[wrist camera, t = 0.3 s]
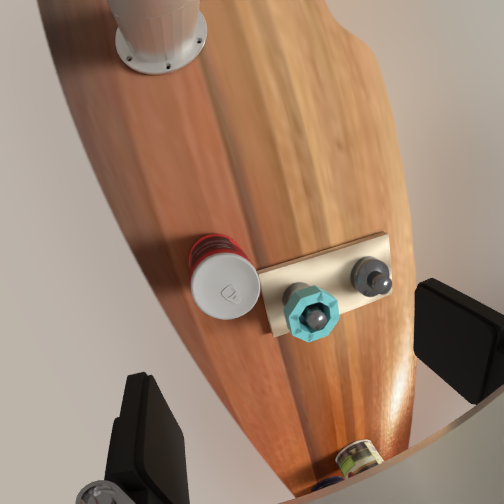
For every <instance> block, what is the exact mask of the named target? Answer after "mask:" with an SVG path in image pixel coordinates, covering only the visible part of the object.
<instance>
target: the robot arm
mask: <svg viewBox="0 0 504 504" xmlns="http://www.w3.org/2000/svg"><path fill="white" fill-rule="evenodd" d="M107 3H108V5H109V7H110V9H111V12H112V14H113V16H114V18H115V20H116V22H117V25H118V28H117V31H116V36H115V46H116V49H117V52H118V54H119V56H120V58H121V59H122V60H123V62H124V63H125V64H126V65H127V66H129V67H130V68H131V69H133V70H135V71H137V72H140V73H143V74H149V75H163V74H167V73H172V72H174V71H177V70H179V69H181V68H183V67H185V66H187V65H188V64H189V63H190V62H192V61H193V60H194V59H195V58H196V57H197V56H198V54H199V53H200V52H201V50H202V48H203V46H204V44H205V41H206V36H207V24H206V20H205V18H204V16H203V14H202V13H201V11H200V10H199V4H200V0H107ZM197 42H201V43H200V44H199V43H197ZM129 59H132V60H131V61H129ZM168 66H169V67H170V69H166V68H167V67H168ZM413 349H414V353H415V355H416V356H417V357H418V358H419V359H420V360H421V361H422V362H423V363H425V364H426V365H427V366H428V367H429V368H430V369H432V370H433V371H434V372H435V373H436V374H437V375H438V376H440V377H441V378H442V379H443V380H444V381H445V382H447V383H448V384H449V385H450V386H451V387H452V388H453V389H454V390H456V391H457V392H458V393H459V394H460V395H461V396H463V397H464V398H465V399H466V400H467V401H468V402H469V403H471V404H475V405H476V406H475V407H474V408H472V409H471V410H469V411H468V412H466V413H465V414H464V415H462V416H461V417H459V418H458V419H456V420H455V421H453V422H452V423H450V424H449V425H447V426H446V427H444V428H442V429H441V430H439V431H438V432H436V433H435V434H433V435H431V436H430V437H428V438H426V439H425V440H423V441H421V442H420V443H418V444H416V445H414V446H413V447H411V448H409V449H407V450H405V451H404V452H402V453H400V454H398V455H396V456H394V457H392V458H390V459H388V460H387V461H385V462H383V463H381V464H378V465H376V466H374V467H372V468H370V469H368V470H366V471H364V472H362V473H359V474H357V475H355V476H353V477H350V478H348V479H346V480H343V481H341V482H338V483H336V484H334V485H331V486H328V487H326V488H323V489H321V490H318V491H315V492H313V493H310V494H307V495H304V496H301V497H298V498H295V499H292V500H289V501H286V502H283V503H280V504H504V315H502V314H501V313H499V312H497V311H495V310H493V309H491V308H490V307H488V306H486V305H484V304H482V303H480V302H478V301H477V300H475V299H473V298H471V297H469V296H467V295H465V294H463V293H461V292H459V291H457V290H456V289H454V288H452V287H450V286H448V285H446V284H444V283H442V282H440V281H438V280H436V279H434V278H430V279H427V280H425V281H423V282H420V283H419V284H418V286H417V288H416V290H415V317H414V346H413ZM184 445H185V444H184V436H183V433H182V431H181V428H180V427H179V425H178V423H177V421H176V419H175V418H174V416H173V414H172V412H171V410H170V408H169V406H168V404H167V403H166V401H165V399H164V397H163V395H162V393H161V391H160V389H159V387H158V385H157V383H156V381H155V379H154V377H153V376H152V375H149V376H148V375H147V374H146V373H145V372H141V373H137V374H133V375H128V377H127V380H126V385H125V390H124V395H123V401H122V406H121V411H120V417H117V418H115V420H114V423H113V428H112V433H111V439H110V445H109V451H108V457H107V464H106V471H105V478H104V480H98V481H95V482H91V483H90V484H88V485H86V486H85V487H84V488H83V489H81V491H80V492H79V494H78V495H77V498H76V504H190V501H189V493H188V492H189V491H188V481H187V472H186V458H185V446H184Z"/></svg>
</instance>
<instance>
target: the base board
mask: <svg viewBox="0 0 504 504" xmlns="http://www.w3.org/2000/svg"><path fill="white" fill-rule="evenodd" d="M366 256H373V257H375V258H377V259H379V260H380V261H382V262H384V263H385V264H386V265H387V266H388V268H389V272H390V277H389V278H390V279H391V280H392V276H391V260H390V247H389V236H388V233H385V232H381V233H378V234H374V235H371V236H368V237H365V238H362V239H359V240H356V241H352V242H349V243H346V244H343V245H340V246H336V247H333V248H330V249H327V250H324V251H320V252H317V253H314V254H311V255H307V256H304V257H301V258H298V259H294V260H291V261H288V262H284V263H281V264H278V265H275V266H271V267H268V268H265V269H261V270H258V271H256V272H257V274H258V277H259V280H260V288H261V292H262V297H263V301H264V305H265V309H266V313H267V317H268V321H269V325H270V329H271V333H272V335H273V337H277V336H280V335H283V334H286V333H289V332H290V331H289V329H288V328H287V324H286V320H285V315H284V311H283V309H284V305H283V302H282V297H283V294H284V292H285V290H286V289H287V288H288V287H289V286H290V285H292V284H294V283H297V282H304V283H307V284H308V285H309V286H313V285H316V286H318V287H319V288H321V289H323V290H325V291H327V292H328V293H330V294H331V295H332V296H333V297H335V298H336V299H337V300H338V308H339V314H342V313H345V312H347V311H350V310H353V309H355V308H358V307H360V306H363V305H365V304H368V303H370V302H373V301H375V300H378V299H380V298H383V297H385V296H388V295H390V294H392V287H391V289H390V291H389V292H388V293H387V294H385V295H380V294H378V295H377V296H374V297H366V296H364V295H362V294H361V293H360V292H359V291H357V290H356V289H355V288H354V287H353V286H352V284H351V280H350V275H351V271H352V268H353V266H354V265H355V263H356V262H357V261H358V260H360V259H361V258H363V257H366Z"/></svg>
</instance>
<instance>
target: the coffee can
mask: <svg viewBox="0 0 504 504" xmlns="http://www.w3.org/2000/svg"><path fill="white" fill-rule="evenodd" d="M383 462H384V461H383V459H382V458H381V456H380V455H379V454H378V452H377V451H376V449H375V448H374V446H373V445H372V443H371V441H369V440H366V439H364V440H359V441H356V442H353V443H351V444H349V445H348V446H346V447H345V448H343V449H342V450H341V451H340V452H339V453H338V455H337V457H336V463H337V464H338V466H339V468H340V470H341V472H342V473H343V475H344V477H345V479H348V478H350V477H353V476H355V475H357V474H359V473H362V472H364V471H366V470H368V469H370V468H372V467H374V466H376V465H378V464H381V463H383Z"/></svg>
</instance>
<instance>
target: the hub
mask: <svg viewBox="0 0 504 504" xmlns="http://www.w3.org/2000/svg"><path fill="white" fill-rule="evenodd" d="M389 277H390V272H389V268H388V266H387V265H386V264H385V263H384V262H382V261H380V260H379V259H377V258H375V257H373V256H366V257H363V258H361V259H360V260H358V261H357V262H356V263H355V265H354V266H353V268H352V271H351V275H350V280H351V284H352V286H353V287H354V288H355V289H356V290H357V291H359V292H360V293H361V294H362V295H364V296H366V297H374V296H377V295H378V294H380V295H385V294H387V293H388V292H389V291H390V289H391V287H392V280H391V279H390V278H389Z"/></svg>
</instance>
